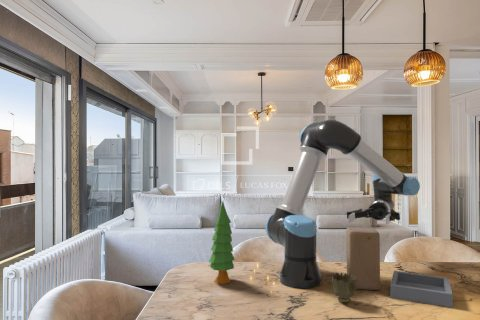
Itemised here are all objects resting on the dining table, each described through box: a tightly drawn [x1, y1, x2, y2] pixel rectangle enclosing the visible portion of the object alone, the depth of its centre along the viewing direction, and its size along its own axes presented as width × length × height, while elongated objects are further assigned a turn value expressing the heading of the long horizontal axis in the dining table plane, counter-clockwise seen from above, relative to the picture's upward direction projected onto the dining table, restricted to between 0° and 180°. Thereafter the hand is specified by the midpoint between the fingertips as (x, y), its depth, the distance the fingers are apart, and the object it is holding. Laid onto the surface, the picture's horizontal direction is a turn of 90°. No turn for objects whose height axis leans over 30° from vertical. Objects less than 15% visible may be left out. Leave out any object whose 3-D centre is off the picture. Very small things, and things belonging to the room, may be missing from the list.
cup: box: [331, 272, 356, 305], centre depth 105 cm, size 8×7×8 cm
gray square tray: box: [389, 270, 454, 309], centre depth 112 cm, size 17×17×4 cm
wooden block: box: [345, 226, 381, 291], centre depth 119 cm, size 10×10×20 cm
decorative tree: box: [208, 201, 235, 285], centre depth 125 cm, size 10×9×30 cm
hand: (367, 219), depth 128 cm, fingers open, 13 cm apart
